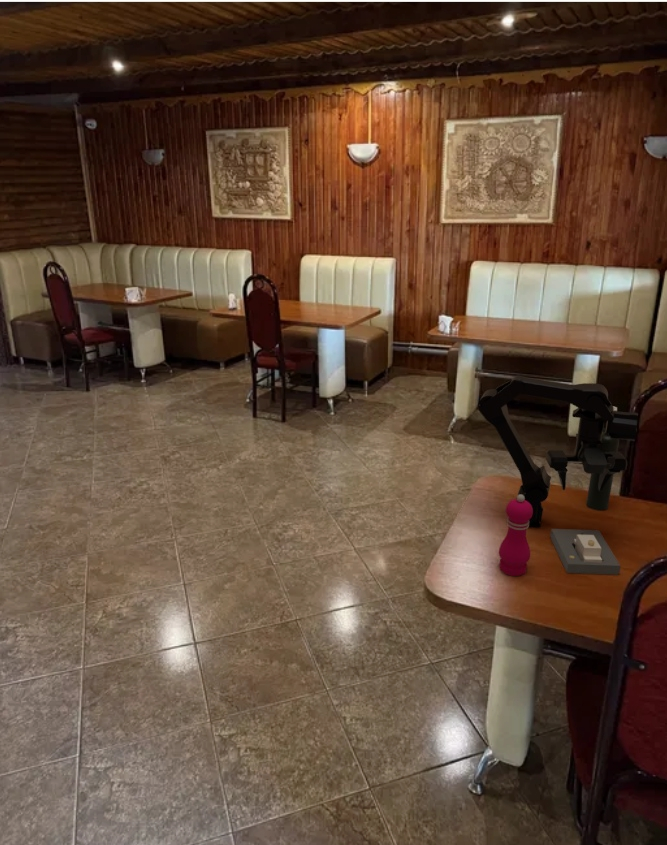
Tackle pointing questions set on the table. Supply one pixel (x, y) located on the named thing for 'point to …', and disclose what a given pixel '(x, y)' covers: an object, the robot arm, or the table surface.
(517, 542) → the pepper mill
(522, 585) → the table surface
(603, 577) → the table surface
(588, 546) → the servo
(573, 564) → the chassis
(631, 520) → the table surface
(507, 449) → the robot arm
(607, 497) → the wine bottle
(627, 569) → the table surface
